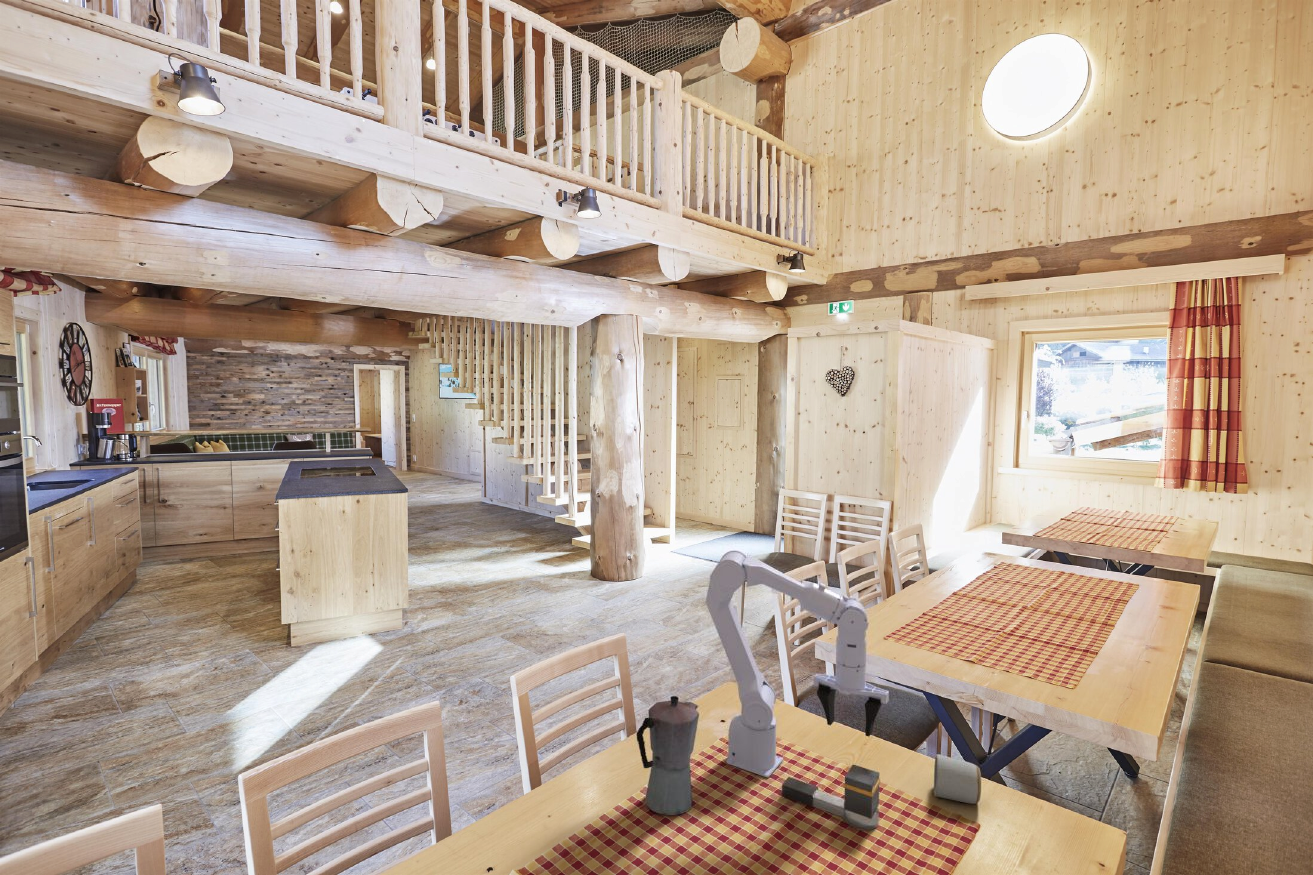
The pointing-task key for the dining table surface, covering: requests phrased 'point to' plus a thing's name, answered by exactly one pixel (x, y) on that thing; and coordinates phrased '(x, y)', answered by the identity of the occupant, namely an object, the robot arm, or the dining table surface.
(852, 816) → the ratchet
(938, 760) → the ceramic mug
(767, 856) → the dining table surface
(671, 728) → the moka pot
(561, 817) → the dining table surface
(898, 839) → the dining table surface
